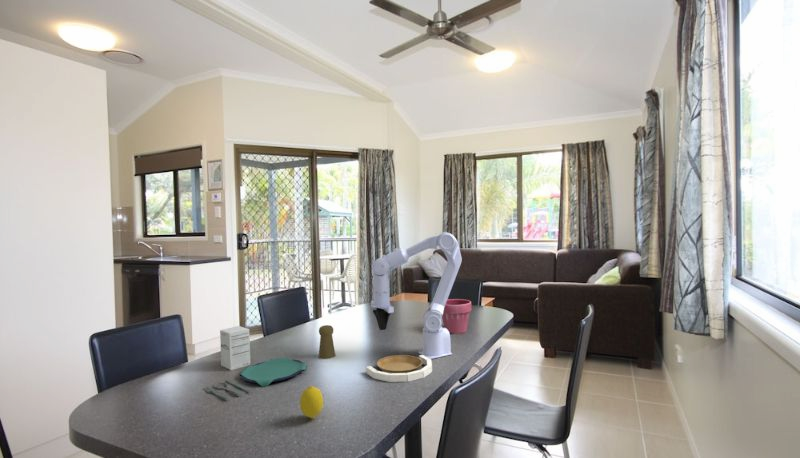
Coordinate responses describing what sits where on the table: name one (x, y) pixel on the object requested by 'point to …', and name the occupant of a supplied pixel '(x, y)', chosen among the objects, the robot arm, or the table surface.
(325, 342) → the cork
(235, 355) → the supplement box
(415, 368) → the plant saucer
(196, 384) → the table surface
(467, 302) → the plant pot
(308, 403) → the lemon
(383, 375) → the centring cradle
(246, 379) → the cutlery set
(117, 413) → the table surface
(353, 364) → the table surface
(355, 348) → the table surface
